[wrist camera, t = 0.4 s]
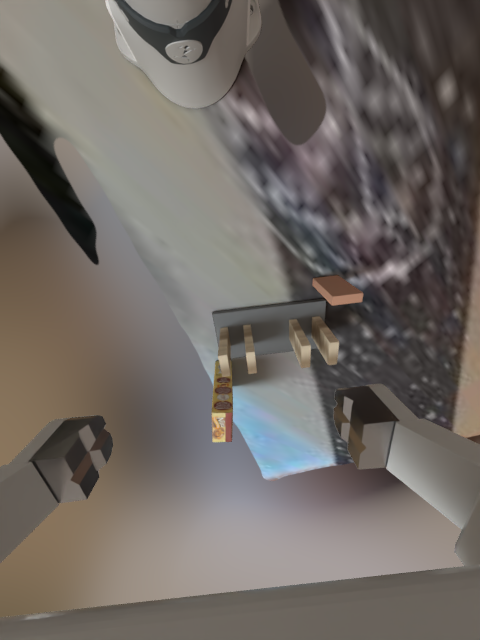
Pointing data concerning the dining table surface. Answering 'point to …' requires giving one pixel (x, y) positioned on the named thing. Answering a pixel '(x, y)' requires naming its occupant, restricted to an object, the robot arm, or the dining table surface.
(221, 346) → the tile
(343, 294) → the tile
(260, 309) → the slate board
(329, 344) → the tile
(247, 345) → the tile
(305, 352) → the tile
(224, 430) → the candy box
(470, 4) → the dining table surface
